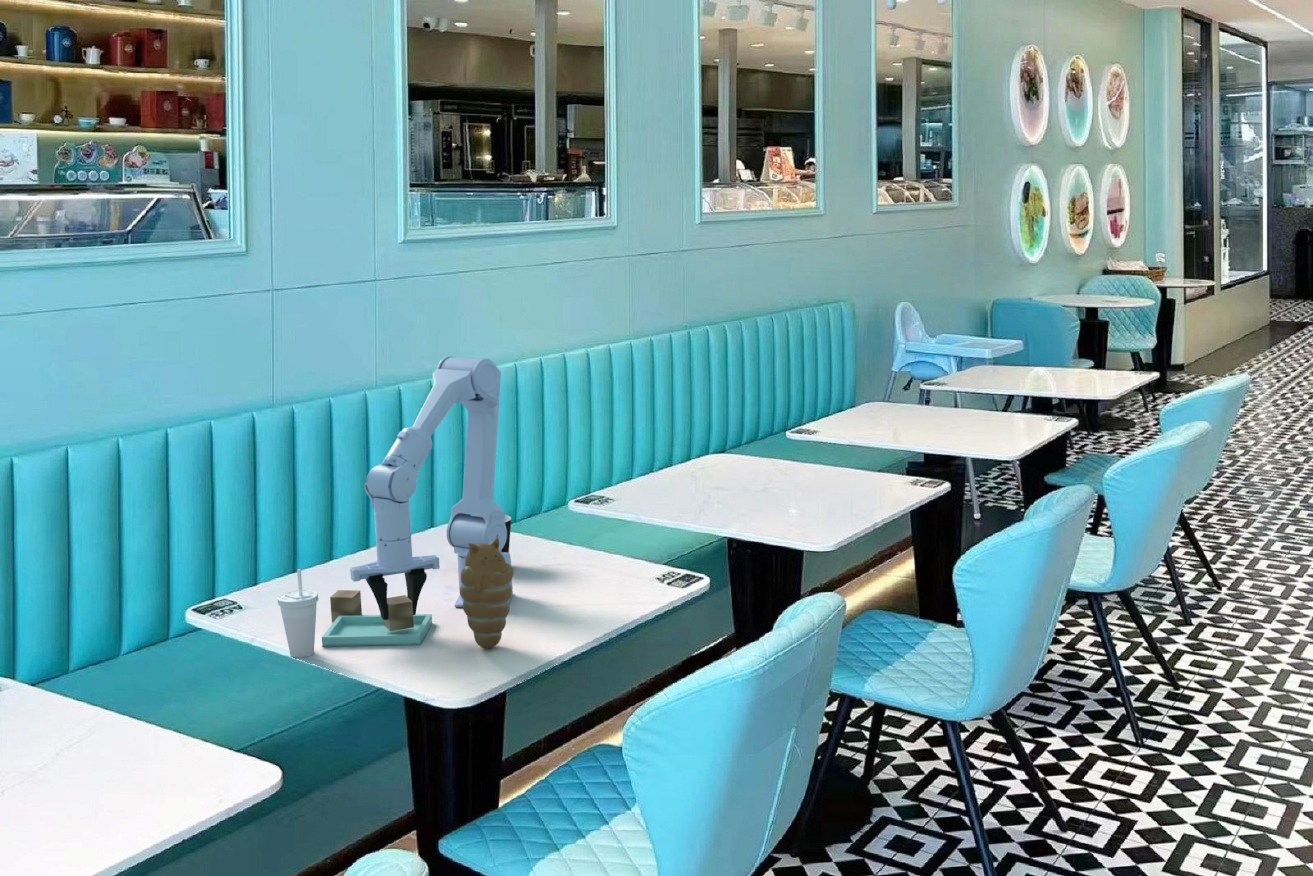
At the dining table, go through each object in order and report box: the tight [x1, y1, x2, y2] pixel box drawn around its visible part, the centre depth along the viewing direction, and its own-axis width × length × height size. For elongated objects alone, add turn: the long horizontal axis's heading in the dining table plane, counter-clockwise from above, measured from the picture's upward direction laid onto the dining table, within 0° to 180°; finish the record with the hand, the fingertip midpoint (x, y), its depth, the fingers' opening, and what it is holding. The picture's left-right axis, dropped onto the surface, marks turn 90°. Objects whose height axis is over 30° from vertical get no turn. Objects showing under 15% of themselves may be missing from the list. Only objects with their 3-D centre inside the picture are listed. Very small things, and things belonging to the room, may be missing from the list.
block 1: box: [329, 589, 363, 623], centre depth 228 cm, size 4×4×4 cm
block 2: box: [383, 594, 414, 631], centre depth 219 cm, size 4×4×4 cm
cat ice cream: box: [459, 538, 514, 649], centre depth 211 cm, size 9×8×18 cm
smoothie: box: [276, 568, 320, 658], centre depth 210 cm, size 6×6×14 cm
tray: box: [321, 613, 433, 648], centre depth 220 cm, size 16×11×2 cm
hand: (398, 615), depth 219 cm, fingers open, 4 cm apart
